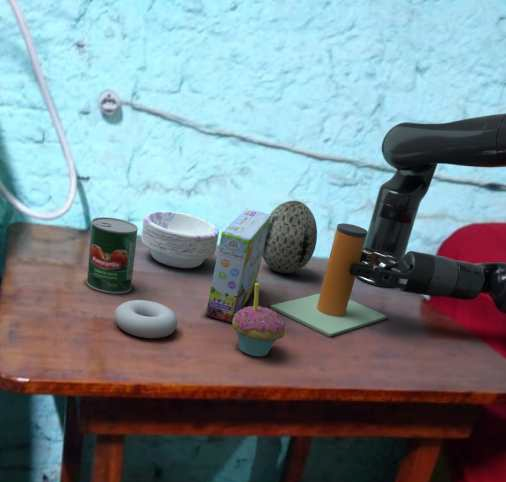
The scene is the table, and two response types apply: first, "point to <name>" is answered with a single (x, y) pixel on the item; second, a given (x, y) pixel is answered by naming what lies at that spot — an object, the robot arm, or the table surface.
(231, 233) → the snack box
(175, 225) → the paper bowls
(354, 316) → the placemat
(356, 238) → the crisps tube
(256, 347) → the cupcake
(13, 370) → the table surface
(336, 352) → the table surface
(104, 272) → the canned tomato
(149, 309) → the donut
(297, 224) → the decorative egg
